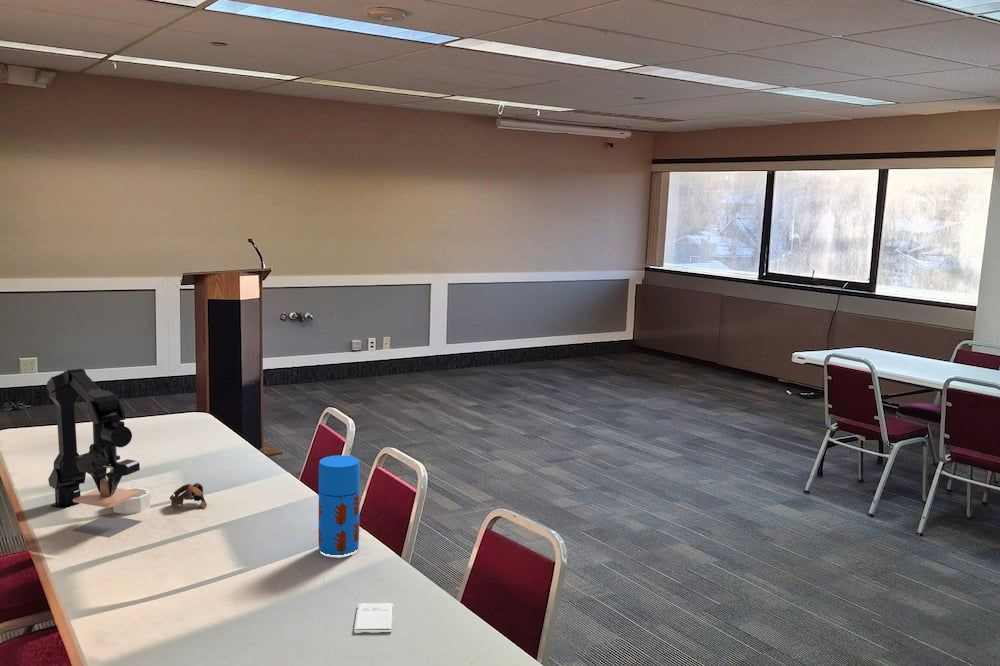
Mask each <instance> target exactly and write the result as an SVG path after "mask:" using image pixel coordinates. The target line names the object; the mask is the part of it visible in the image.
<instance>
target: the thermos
mask: <svg viewBox="0 0 1000 666" xmlns="http://www.w3.org/2000/svg"><path fill="white" fill-rule="evenodd" d="M360 479H361V467H360V459H359V458H357V457H355V456H352V455H331V456H330V455H329V456H326V457H323V458H321V459H320V460H319V464H318V551H319V550H320V551H321V552H323V553H325V554H330V555H344V554H348V553H351V552H354V551H355V550H357V549H358V550H359V548H360V547H359V546H360V545H359V544H360V500H361V499H360V495H361V494H360V493H361V490H360V489H361V487H360V485H361V482H360V481H361V480H360Z"/></svg>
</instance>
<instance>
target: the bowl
mask: <svg viewBox="0 0 1000 666" xmlns="http://www.w3.org/2000/svg"><path fill="white" fill-rule="evenodd" d="M125 489H126V490H133V491H139V492H140V494H139V495H137V496H135V497H132V498H130V499H128V500H125V501H123V502H121V503H119V504H116V505H114V506H112V509H113V511H112V512H113V513H117V514H122V515H129V514H131V515H132V514H138V513H139V514H140V513H142V512H145V511H146V510H147V511H148V509H151V493H150V492H151V491H150V489H148V488H144V487H128V488H125Z"/></svg>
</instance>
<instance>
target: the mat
mask: <svg viewBox="0 0 1000 666" xmlns="http://www.w3.org/2000/svg"><path fill="white" fill-rule="evenodd" d="M142 522H143V520H139V519H133V518H126V517H121V516H115V515H111V514H110V515H109V514H104V515H102V516H100V517H97V518H95V519H93V520H91V521H89V522H86V523H84V524H82V525H80V526H78V527H76V528H73V529H71V531H72V532H78V533H83V534H89V535H93V536H98V537H99V536H100V537H104V538H111V537H114V536H115V535H118V534H120V533H121V532H123V531H126V530H128V529H130V528H133V527H134V526H136V525H138V524H141V523H142Z"/></svg>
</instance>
